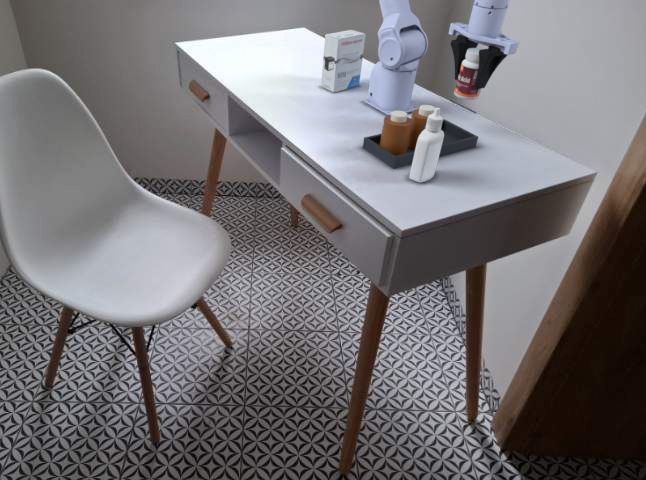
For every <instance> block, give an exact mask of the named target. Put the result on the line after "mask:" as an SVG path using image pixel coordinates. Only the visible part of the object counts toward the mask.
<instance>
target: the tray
mask: <svg viewBox="0 0 646 480" xmlns="http://www.w3.org/2000/svg"><path fill="white" fill-rule="evenodd" d="M441 130H442V131H443V132H444V138H443V143H442V147H441V151H440V155H439V157H442V156H447V155H451V154H454V153H458V152H462V151H466V150H470V149H473V148H476V146H477V143H478V141H479V136H478V135H476V134H474V133H472V132H470V131H468V130H467V129H464V128H463V127H460V126H458V125H457V124H455V123H453V122H451V121H449V120H448V119H444V118H443V122H442V126H441ZM381 134H382V133H378V134H373V135H370V136H365V137H363V142H362V149H363V150H365V151H366V152H367V153H369V154H371V155H372V156H374V157H375V158H377V159H378V160H380V161H381V162H383V163H384V164H386V165H387V166H389V167H390V168H392V169H397V168H401V167H405V166H409V165H412V162H413V157H414V153H415V149H412V148H410V147H407V151H406V154H402V155H398V156H395V155H394V154H392V153H391V152H389V151H387V150H386V149H384V148H383V147H381V146H380V140H381Z"/></svg>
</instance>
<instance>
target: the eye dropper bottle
mask: <svg viewBox="0 0 646 480" xmlns="http://www.w3.org/2000/svg"><path fill="white" fill-rule="evenodd" d="M443 120H444V117H443V116H442V115H441V108H440V107H435V111H434V113H433V114H431V115H429V116H428V119H427V123H426V129H424V130H423V131H422V132H421V134H420V135H419V137H418V140H417V144H416V148H415V153H414V157H413V162H412V164H411V167H410V171H409V176H408V177H409V179H410V180H411V181H414V182H416V183H419V184H420V183H425V182H428V181H429V180H432V179H433V177H434V176H435V173H436V170H437V166H438V161H439V159H440V156H439V155H440V151H441V147H442V143H443V138H444V132H443V131H442V130H441V126H442V122H443Z"/></svg>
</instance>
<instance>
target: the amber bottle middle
mask: <svg viewBox="0 0 646 480" xmlns="http://www.w3.org/2000/svg"><path fill="white" fill-rule="evenodd" d="M435 108H436V107H435V106H434V105H430V104H421V105H420V106H419V108H418V109H416V110H414V111H413V112H411V116H410V119H411V120H412V121H413V123H412V127H411V132H410V137H409V142H408V147H410V148H412V149H415V148H416V144H417V140H418V137H419V135H420V134H421V132H422V131H423V130H424V129H426V123H427V119H428V116H429V115H431V114H433V113H434V111H435Z"/></svg>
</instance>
